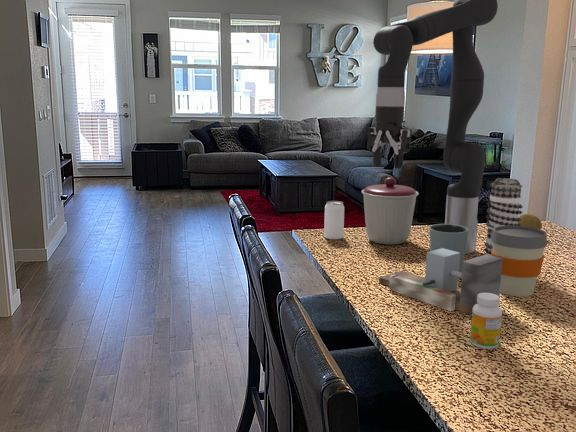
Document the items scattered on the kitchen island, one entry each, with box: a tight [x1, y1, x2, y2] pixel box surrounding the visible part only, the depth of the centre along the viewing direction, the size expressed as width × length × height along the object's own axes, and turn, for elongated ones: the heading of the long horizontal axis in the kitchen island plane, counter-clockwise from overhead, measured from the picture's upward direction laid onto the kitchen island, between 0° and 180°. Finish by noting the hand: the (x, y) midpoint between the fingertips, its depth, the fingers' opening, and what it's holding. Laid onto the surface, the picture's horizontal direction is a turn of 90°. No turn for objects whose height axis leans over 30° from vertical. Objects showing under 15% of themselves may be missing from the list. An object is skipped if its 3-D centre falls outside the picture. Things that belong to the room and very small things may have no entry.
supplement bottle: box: [469, 293, 503, 350], centre depth 108 cm, size 5×5×10 cm
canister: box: [361, 177, 420, 246], centre depth 182 cm, size 18×18×21 cm
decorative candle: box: [483, 177, 524, 255], centre depth 154 cm, size 9×9×25 cm
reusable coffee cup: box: [491, 226, 548, 297], centre depth 137 cm, size 13×13×15 cm
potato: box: [518, 213, 543, 230], centre depth 190 cm, size 7×8×8 cm
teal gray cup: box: [428, 223, 469, 273], centre depth 153 cm, size 10×10×12 cm
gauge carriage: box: [423, 248, 462, 292], centre depth 131 cm, size 8×10×9 cm
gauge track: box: [378, 254, 503, 316], centre depth 134 cm, size 28×11×12 cm, turn 38°
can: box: [323, 200, 345, 241], centre depth 187 cm, size 6×6×12 cm
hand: (387, 166), depth 153 cm, fingers open, 6 cm apart
